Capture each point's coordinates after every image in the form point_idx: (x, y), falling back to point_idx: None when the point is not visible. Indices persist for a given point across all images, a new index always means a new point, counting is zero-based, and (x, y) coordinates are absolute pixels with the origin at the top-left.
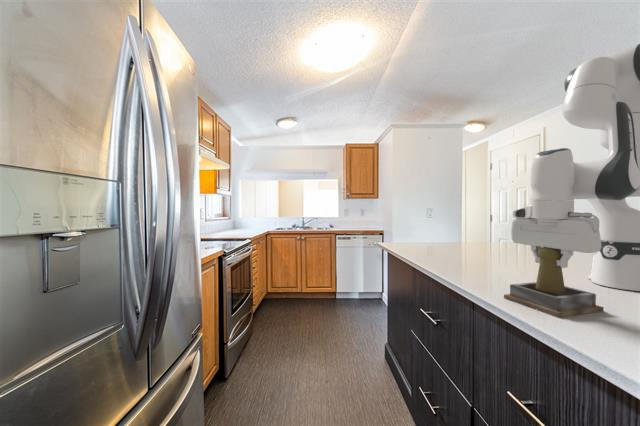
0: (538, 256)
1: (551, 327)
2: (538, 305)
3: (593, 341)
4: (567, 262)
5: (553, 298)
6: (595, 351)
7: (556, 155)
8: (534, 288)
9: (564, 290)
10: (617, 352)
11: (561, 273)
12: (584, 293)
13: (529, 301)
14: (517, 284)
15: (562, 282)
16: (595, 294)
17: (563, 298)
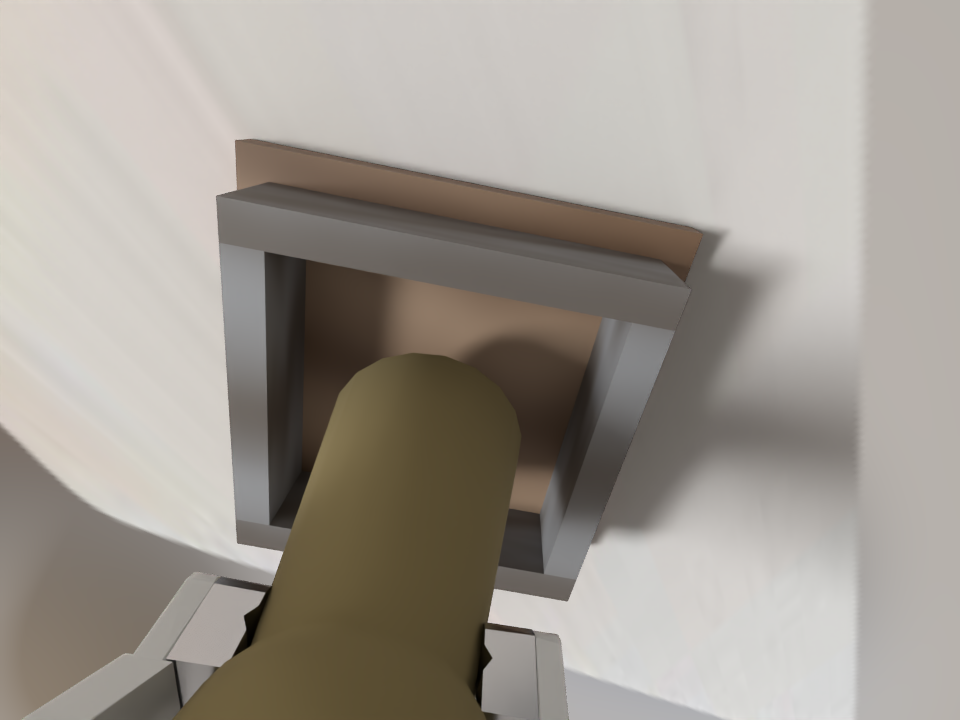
0: (177, 706)
1: (607, 646)
2: None
3: (744, 654)
4: (564, 699)
5: (546, 592)
6: (763, 706)
7: None
8: (284, 363)
9: (517, 433)
10: (813, 675)
11: (498, 559)
12: (626, 354)
13: None
14: (248, 504)
15: (510, 493)
16: (688, 291)
17: (582, 562)
